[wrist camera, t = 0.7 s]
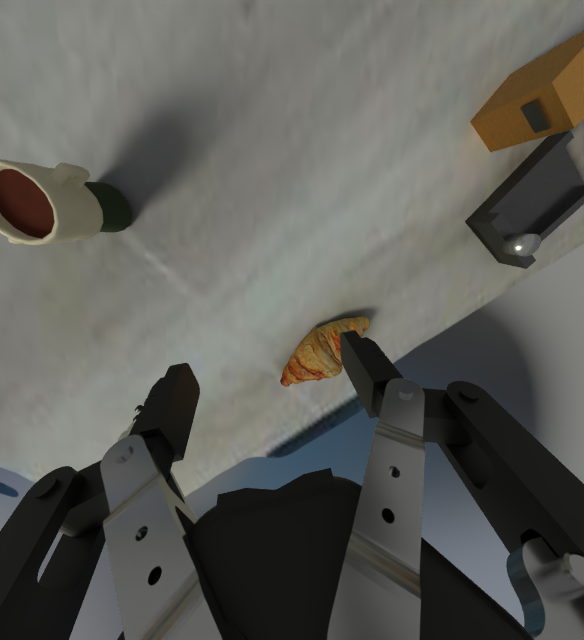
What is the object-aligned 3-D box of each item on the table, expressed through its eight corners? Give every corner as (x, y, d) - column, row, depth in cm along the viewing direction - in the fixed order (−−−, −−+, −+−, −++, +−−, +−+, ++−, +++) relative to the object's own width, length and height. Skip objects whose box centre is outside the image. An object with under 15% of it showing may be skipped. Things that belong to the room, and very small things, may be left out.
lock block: (509, 74, 29) (617, 10, 20) (529, 109, 30) (636, 65, 21) (468, 123, 30) (549, 85, 21) (489, 153, 32) (572, 130, 23)
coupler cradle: (547, 136, 32) (617, 116, 25) (577, 191, 35) (646, 185, 29) (460, 226, 36) (500, 229, 30) (494, 266, 40) (537, 277, 33)
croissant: (350, 298, 44) (350, 296, 37) (383, 337, 43) (391, 344, 35) (273, 361, 49) (260, 371, 41) (302, 397, 48) (293, 415, 40)
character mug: (109, 156, 29) (-2, 117, 18) (155, 202, 32) (86, 196, 20) (65, 214, 32) (-58, 213, 20) (111, 253, 34) (27, 273, 23)
